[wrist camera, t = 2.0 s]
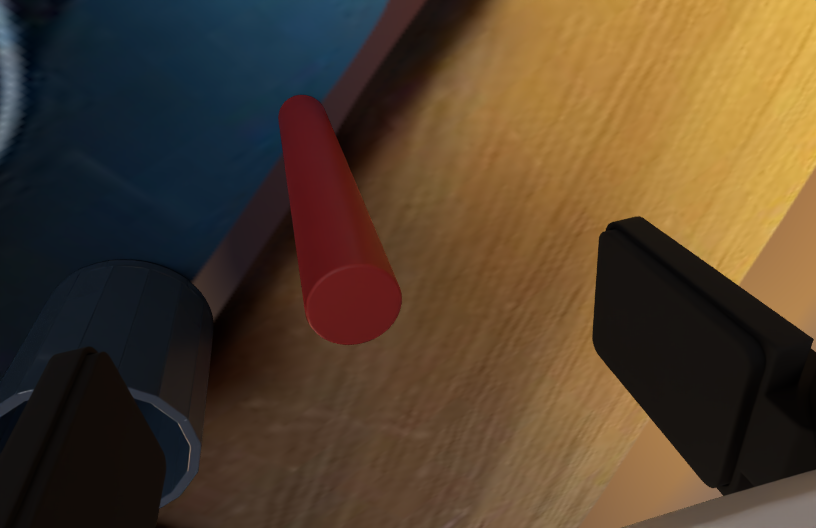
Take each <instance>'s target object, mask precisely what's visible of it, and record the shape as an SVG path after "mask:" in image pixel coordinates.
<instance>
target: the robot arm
mask: <svg viewBox="0 0 816 528" xmlns="http://www.w3.org/2000/svg"><path fill="white" fill-rule="evenodd" d="M592 339H593V344H594V347H595V350H596V352H597V353H598V355H599V356H600V357H601V359H602V360H603V361H604V362H605V364H606V365H607V366H608V367H609V368H610V370H611V371H612V372H613V373H614V374H615V376H616V377H617V378H618V379H619V381H620V382H621V383H622V384H623V385H624V387H625V388H626V389H627V390H628V391H629V393H630V394H631V395H632V396H633V398H634V399H635V400H636V401H637V402H638V404H639V405H640V406H641V407H642V408H643V410H644V411H645V412H646V413H647V415H648V416H649V417H650V418H651V419H652V421H653V422H654V423H655V424H656V425H657V427H658V428H659V429H660V430H661V431H662V433H663V434H664V435H665V436H666V438H667V439H668V440H669V441H670V442H671V444H672V445H673V446H674V447H675V448H676V450H677V451H678V452H679V453H680V455H681V456H682V457H683V458H684V459H685V461H686V462H687V463H688V464H689V465H690V467H691V468H692V469H693V470H694V472H695V473H696V474H697V475H698V476H699V478H700V479H701V480H702V481H703V482H704V483H705V484H706V485H707V486H709V487H711V488H717V489H718V490H719V491H720V492H721V494H722V495H723V496H722V497H719V498H715V499H712V500H709V501H706V502H703V503H700V504H696V505H693V506H690V507H687V508H684V509H680V510H677V511H674V512H670V513H667V514H664V515H661V516H657V517H654V518H651V519H648V520H644V521H641V522H638V523H635V524H632V525H629V526H625V527H622V528H816V352H815V351H814V350H812V349H811V346H812V343H813V340H814V339H813V338H811V337H810V336H808V335H807V334H805V333H804V332H803V331H801V330H800V329H798V328H797V327H796V326H794V325H793V324H792V323H790V322H789V321H787V320H786V319H784V318H783V317H781V316H780V315H779V314H778V313H776V312H775V311H773V310H772V309H770V308H769V307H768V306H766V305H765V304H763V303H762V302H760V301H759V300H758V299H756V298H755V297H754V296H752V295H751V294H749V293H748V292H747V291H745V290H744V289H742V288H741V287H739V286H738V285H737V284H735V283H734V282H732V281H731V280H730V279H728V278H727V277H725V276H724V275H723V274H721V273H720V272H718V271H717V270H716V269H714V268H713V267H711V266H710V265H709V264H707V263H706V262H704V261H703V260H701V259H700V258H699V257H697V256H696V255H694V254H693V253H692V252H690V251H689V250H687V249H686V248H685V247H683V246H682V245H680V244H679V243H678V242H676V241H675V240H673V239H672V238H671V237H669V236H668V235H666V234H665V233H663V232H662V231H661V230H659V229H658V228H656V227H655V226H654V225H652V224H651V223H649V222H648V221H647V220H645V219H644V218H642V217H640V216H639V217H632V218H628V219H624V220H620V221H615V222H611V223H610V224H608V226H607V228H606V231H605V232H602V233H601V235H600V237H599V246H598V261H597V276H596V290H595V305H594V320H593V335H592ZM165 475H166V459H165V455H164V452H163V450H162V448H161V446H160V445H159V443H158V441H157V439H156V437H155V436H154V434H153V432H152V430H151V429H150V427H149V425H148V423H147V421H146V420H145V418H144V416H143V414H142V413H141V411H140V409H139V407H138V405H137V404H136V402H135V400H134V398H133V396H132V395H131V393H130V391H129V389H128V388H127V386H126V384H125V382H124V380H123V379H122V377H121V375H120V373H119V372H118V370H117V368H116V366H115V364H114V363H113V361H112V359H111V357H110V356H109V355H108V354H107V353H106V352H99V353H98V352H97V351H96V350H95V349H94V348H93V347H89V346H88V347H84V348H80V349H76V350H71V351H67V352H63V353H59V354H55V355H53V356H52V357H51V358H50V360H49V361H48V363H47V365H46V367H45V369H44V371H43V373H42V375H41V377H40V379H39V381H38V383H37V385H36V387H35V388H34V390H33V392H32V394H31V396H30V398H29V400H28V402H27V404H26V406H25V408H24V410H23V412H22V414H21V415H20V417H19V419H18V421H17V423H16V425H15V427H14V429H13V431H12V433H11V435H10V437H9V439H8V441H7V442H6V444H5V446H4V448H3V450H2V452H1V454H0V528H156V523H157V518H158V513H159V507H160V502H161V496H162V491H163V486H164V480H165Z"/></svg>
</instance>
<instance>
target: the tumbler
mask: <svg viewBox="0 0 816 528" xmlns="http://www.w3.org/2000/svg"><path fill="white" fill-rule="evenodd" d="M213 330H214V323H213V316H212V312H211V309H210V307H209V305H208V303H207V301H206V299H205V298H204V296H203V295H202V293H201V292H200V291H199V290H198V289H197V288H196V287H195V286H194V285H193V284H192V283H191V282H190V281H188V280H187V279H186V278H184V277H183V276H181V275H180V274H178V273H176V272H174V271H172V270H170V269H168V268H165V267H162V266H160V265H157V264H153V263H149V262H143V261H137V260H111V261H105V262H100V263H96V264H93V265H89V266H87V267H84V268H82V269H80V270H78V271H76V272H74V273H73V274H71V275H69V276H68V277H67V278H65V279H64V280H63V281H62V282H61V283H60V284H59V285H58V286H57V287H56V288H55V290H54V291H53V292H52V293H51V295H50V297H49V299H48V300H47V302H46V304H45V305H44V307H43V309H42V311H41V312H40V314H39V316H38V318H37V319H36V321H35V323H34V325H33V326H32V328H31V330H30V332H29V333H28V335H27V337H26V339H25V340H24V342H23V344H22V345H21V347H20V349H19V351H18V352H17V354H16V356H15V358H14V359H13V361H12V363H11V365H10V366H9V368H8V370H7V372H6V373H5V375H4V377H3V378H2V380H1V382H0V454H1V452H2V450H3V448H4V446H5V444H6V442H7V441H8V439H9V437H10V435H11V433H12V431H13V429H14V427H15V425H16V423H17V421H18V419H19V417H20V415H21V414H22V412H23V410H24V408H25V406H26V404H27V402H28V400H29V398H30V396H31V394H32V392H33V390H34V388H35V387H36V385H37V383H38V381H39V379H40V377H41V375H42V373H43V371H44V369H45V367H46V365H47V363H48V361H49V360H50V358H51V357H52V356H53V355H55V354H59V353H63V352H67V351H71V350H76V349H80V348H84V347H88V346H89V347H93V348H94V349H95V350H96V351H97V352H98V353H99V352H106V353H107V354H108V355H109V356H110V357H111V359H112V361H113V363H114V364H115V366H116V368H117V370H118V372H119V373H120V375H121V377H122V379H123V380H124V382H125V384H126V386H127V388H128V389H129V391H130V393H131V395H132V396H133V398H134V400H135V402H136V404H137V405H138V407H139V409H140V411H141V413H142V414H143V416H144V418H145V420H146V421H147V423H148V425H149V427H150V429H151V430H152V432H153V434H154V436H155V437H156V439H157V441H158V443H159V445H160V446H161V448H162V450H163V452H164V455H165V459H166V475H165V480H164V486H163V491H162V496H161V502H160V507H159V509H160V508H162V507H163V506H165V505H166V504H168V503H170V502H171V501H173V500H175V499H176V498H178V497H179V496H180V495H181V494H182V493H183V492H184V490H185V489H186V488H187V486H188V485H189V484H190V482H191V481H192V480H193V478H194V477H195V476H196V474H197V473H198V471H199V463H200V455H201V446H202V436H203V427H204V417H205V407H206V398H207V388H208V378H209V369H210V359H211V350H212V340H213Z"/></svg>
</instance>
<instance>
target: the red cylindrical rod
mask: <svg viewBox="0 0 816 528" xmlns="http://www.w3.org/2000/svg"><path fill="white" fill-rule="evenodd" d="M278 119H279V127H280V135H281V142H282V149H283V156H284V164H285V171H286V177H287V185H288V192H289V200H290V207H291V214H292V221H293V229H294V236H295V243H296V250H297V258H298V265H299V272H300V279H301V287H302V294H303V301H304V308H305V314H306V318H307V321H308V323H309V325H310V326H311V328H312V329H313V330H314V331H315V332H316V333H317V334H318V335H319V336H321V337H322V338H324V339H326V340H328V341H330V342H333V343H337V344H343V345H354V344H360V343H364V342H368V341H370V340H373V339H375V338H376V337H378V336H380V335H381V334H383V333H384V332H385V331H387V330H388V329H389V328H390V327H391V325H392V324H393V323H394V322H395V320H396V318H397V316H398V314H399V312H400V309H401V304H402V293H401V289H400V287H399V284H398V282H397V279H396V277H395V275H394V272H393V270H392V268H391V265H390V263H389V261H388V258H387V256H386V253H385V251H384V249H383V246H382V244H381V242H380V239H379V237H378V234H377V232H376V230H375V227H374V225H373V223H372V220H371V218H370V216H369V213H368V211H367V208H366V206H365V204H364V201H363V199H362V197H361V194H360V192H359V189H358V187H357V185H356V182H355V180H354V178H353V175H352V173H351V171H350V168H349V166H348V163H347V161H346V159H345V156H344V154H343V152H342V149H341V147H340V145H339V142H338V140H337V137H336V135H335V133H334V130H333V128H332V126H331V123H330V121H329V119H328V116H327V114H326V111H325V109H324V107H323V106H322V104H321V103H320V102H319V101H318V100H316V99H315V98H313V97H311V96H307V95H297V96H293V97H291V98H289V99H288V100H287V101H285V102H284V104H283V105H282V107H281V108H280V111H279V117H278Z"/></svg>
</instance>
